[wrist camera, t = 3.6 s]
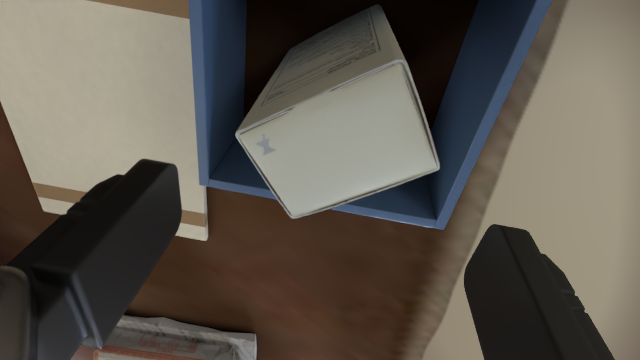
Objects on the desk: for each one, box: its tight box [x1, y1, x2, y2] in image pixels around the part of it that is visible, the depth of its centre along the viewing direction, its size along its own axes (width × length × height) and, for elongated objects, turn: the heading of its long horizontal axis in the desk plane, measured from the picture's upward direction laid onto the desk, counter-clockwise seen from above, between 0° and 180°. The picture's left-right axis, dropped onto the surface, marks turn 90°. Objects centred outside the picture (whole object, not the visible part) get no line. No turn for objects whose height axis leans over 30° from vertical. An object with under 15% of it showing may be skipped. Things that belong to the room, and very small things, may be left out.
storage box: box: [188, 0, 552, 230], centre depth 19 cm, size 14×13×7 cm
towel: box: [0, 0, 208, 241], centre depth 26 cm, size 15×22×1 cm
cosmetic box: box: [235, 4, 440, 219], centre depth 17 cm, size 6×4×12 cm
